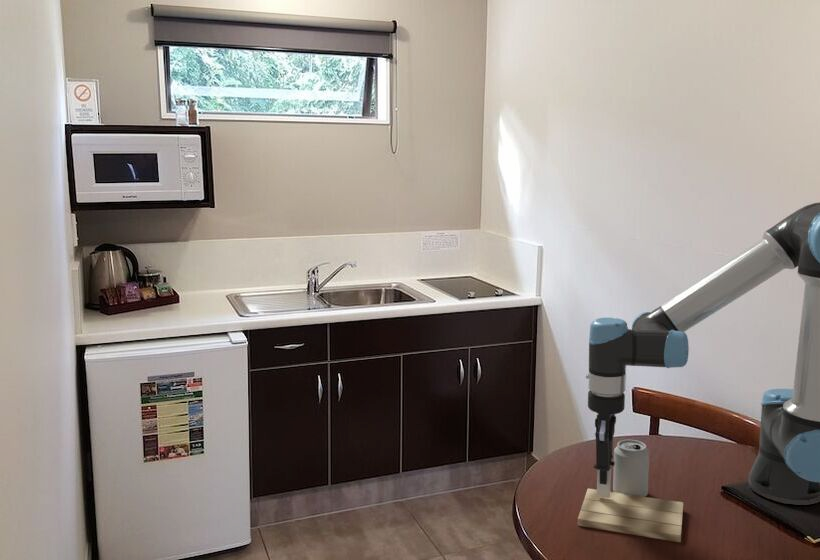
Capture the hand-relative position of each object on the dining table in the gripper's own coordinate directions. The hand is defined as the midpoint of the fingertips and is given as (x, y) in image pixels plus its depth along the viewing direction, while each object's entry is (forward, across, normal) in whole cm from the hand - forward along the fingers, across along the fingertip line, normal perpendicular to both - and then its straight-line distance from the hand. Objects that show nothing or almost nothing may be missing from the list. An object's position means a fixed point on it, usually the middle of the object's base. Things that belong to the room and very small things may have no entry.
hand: (603, 495), depth 158 cm
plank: (+2, +1, +6) cm, 7 cm away
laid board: (+3, +8, +6) cm, 10 cm away
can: (+3, -7, +5) cm, 9 cm away
